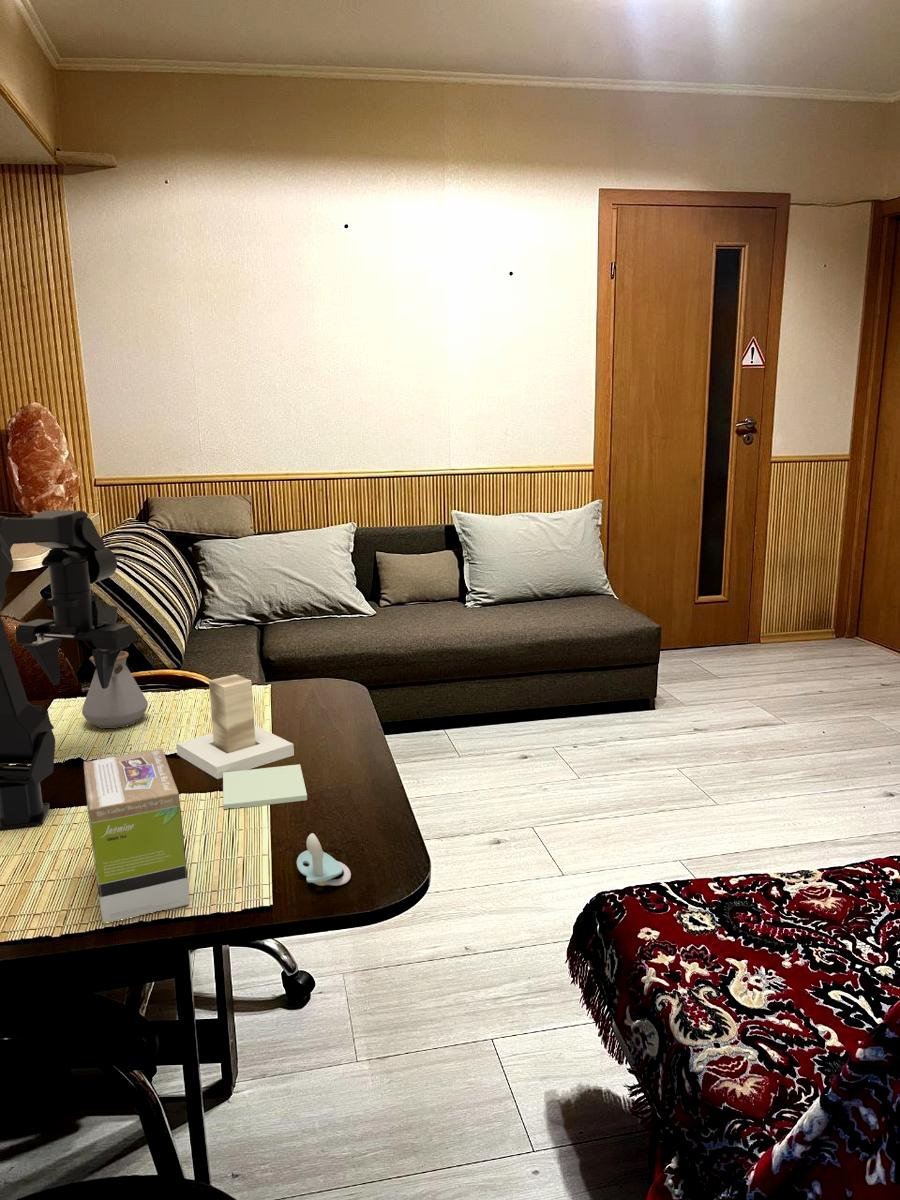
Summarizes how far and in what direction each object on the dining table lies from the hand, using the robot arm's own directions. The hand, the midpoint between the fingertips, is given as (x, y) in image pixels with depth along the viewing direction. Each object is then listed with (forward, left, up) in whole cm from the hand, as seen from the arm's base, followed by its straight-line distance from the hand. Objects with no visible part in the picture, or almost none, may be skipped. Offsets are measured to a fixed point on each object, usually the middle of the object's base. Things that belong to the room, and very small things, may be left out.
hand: (80, 686), depth 147 cm
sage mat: (-17, -27, -14) cm, 35 cm away
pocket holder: (-2, -23, -14) cm, 27 cm away
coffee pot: (+16, -3, -14) cm, 21 cm away
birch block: (-2, -23, -14) cm, 27 cm away
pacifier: (-46, -34, -14) cm, 59 cm away
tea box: (-42, -11, -14) cm, 46 cm away
